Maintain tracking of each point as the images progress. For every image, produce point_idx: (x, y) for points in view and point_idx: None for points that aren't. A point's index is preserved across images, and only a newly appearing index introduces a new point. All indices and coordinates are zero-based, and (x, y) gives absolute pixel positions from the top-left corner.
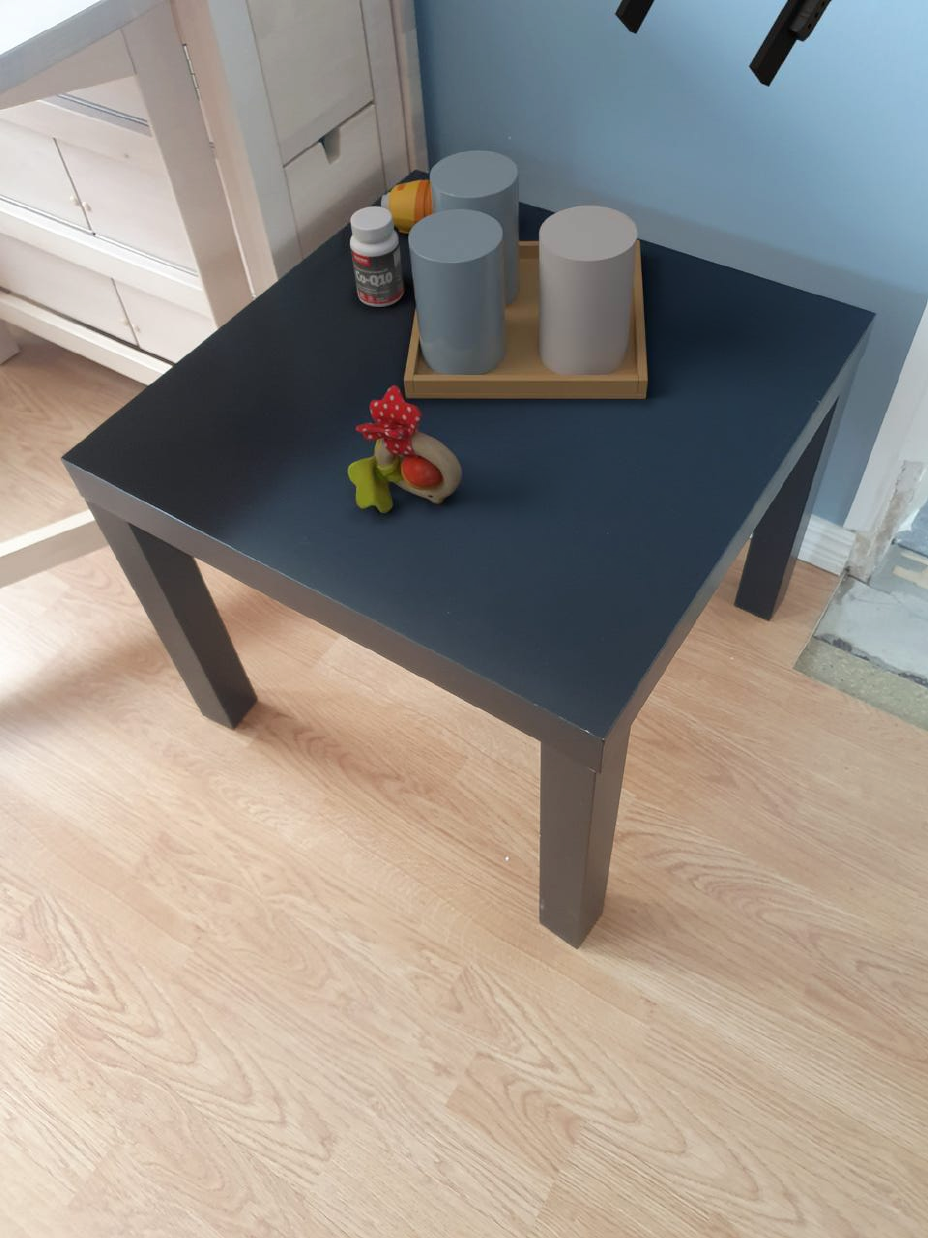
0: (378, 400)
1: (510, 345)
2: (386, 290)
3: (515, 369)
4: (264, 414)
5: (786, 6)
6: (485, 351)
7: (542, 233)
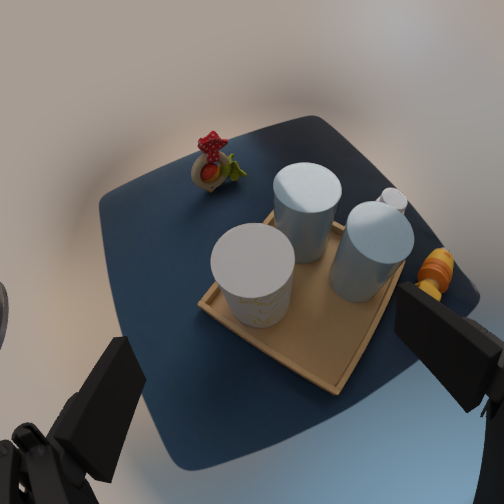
0: (223, 140)
1: None
2: None
3: None
4: (308, 157)
5: (86, 399)
6: None
7: (273, 229)
